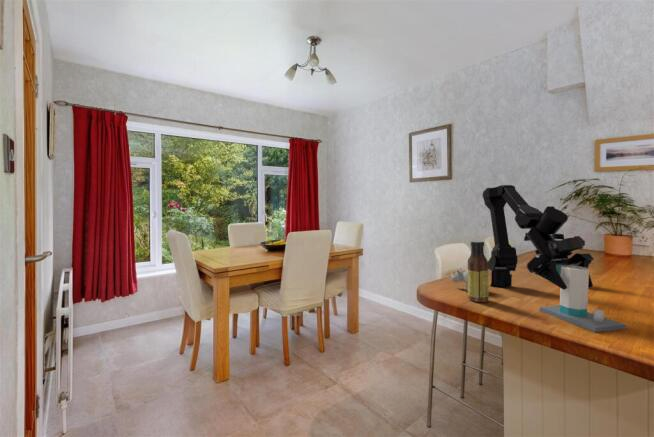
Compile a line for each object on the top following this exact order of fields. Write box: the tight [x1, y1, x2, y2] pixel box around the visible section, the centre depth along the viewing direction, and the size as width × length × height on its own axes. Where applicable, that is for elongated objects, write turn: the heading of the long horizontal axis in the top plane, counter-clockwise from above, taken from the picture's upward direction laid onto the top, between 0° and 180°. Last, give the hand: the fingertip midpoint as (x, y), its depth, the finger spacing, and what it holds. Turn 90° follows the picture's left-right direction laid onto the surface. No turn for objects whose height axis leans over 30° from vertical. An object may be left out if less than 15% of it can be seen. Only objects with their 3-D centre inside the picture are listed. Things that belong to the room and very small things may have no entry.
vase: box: [559, 265, 590, 317], centre depth 90 cm, size 6×6×13 cm
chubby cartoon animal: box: [450, 268, 468, 292], centre depth 118 cm, size 7×12×8 cm, turn 48°
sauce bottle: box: [467, 240, 489, 303], centre depth 105 cm, size 7×6×20 cm
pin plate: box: [539, 304, 627, 333], centre depth 88 cm, size 16×10×4 cm, turn 12°
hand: (578, 287), depth 88 cm, fingers open, 9 cm apart
